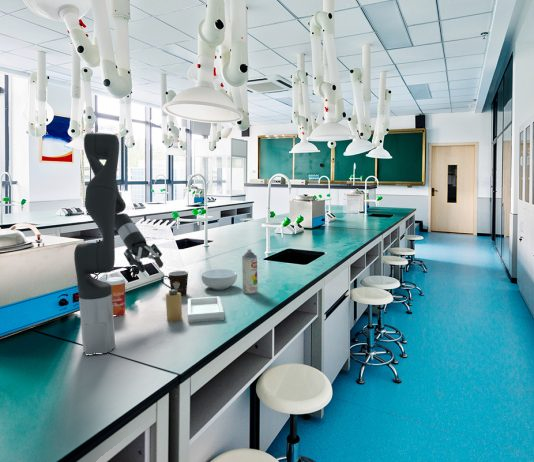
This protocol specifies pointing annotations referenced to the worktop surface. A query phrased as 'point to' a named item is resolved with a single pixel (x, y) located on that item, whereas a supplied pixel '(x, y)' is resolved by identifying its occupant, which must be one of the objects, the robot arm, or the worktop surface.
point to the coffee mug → (178, 281)
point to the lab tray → (205, 309)
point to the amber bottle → (173, 306)
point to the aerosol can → (249, 273)
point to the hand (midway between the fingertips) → (152, 268)
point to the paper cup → (117, 294)
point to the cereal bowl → (219, 278)
